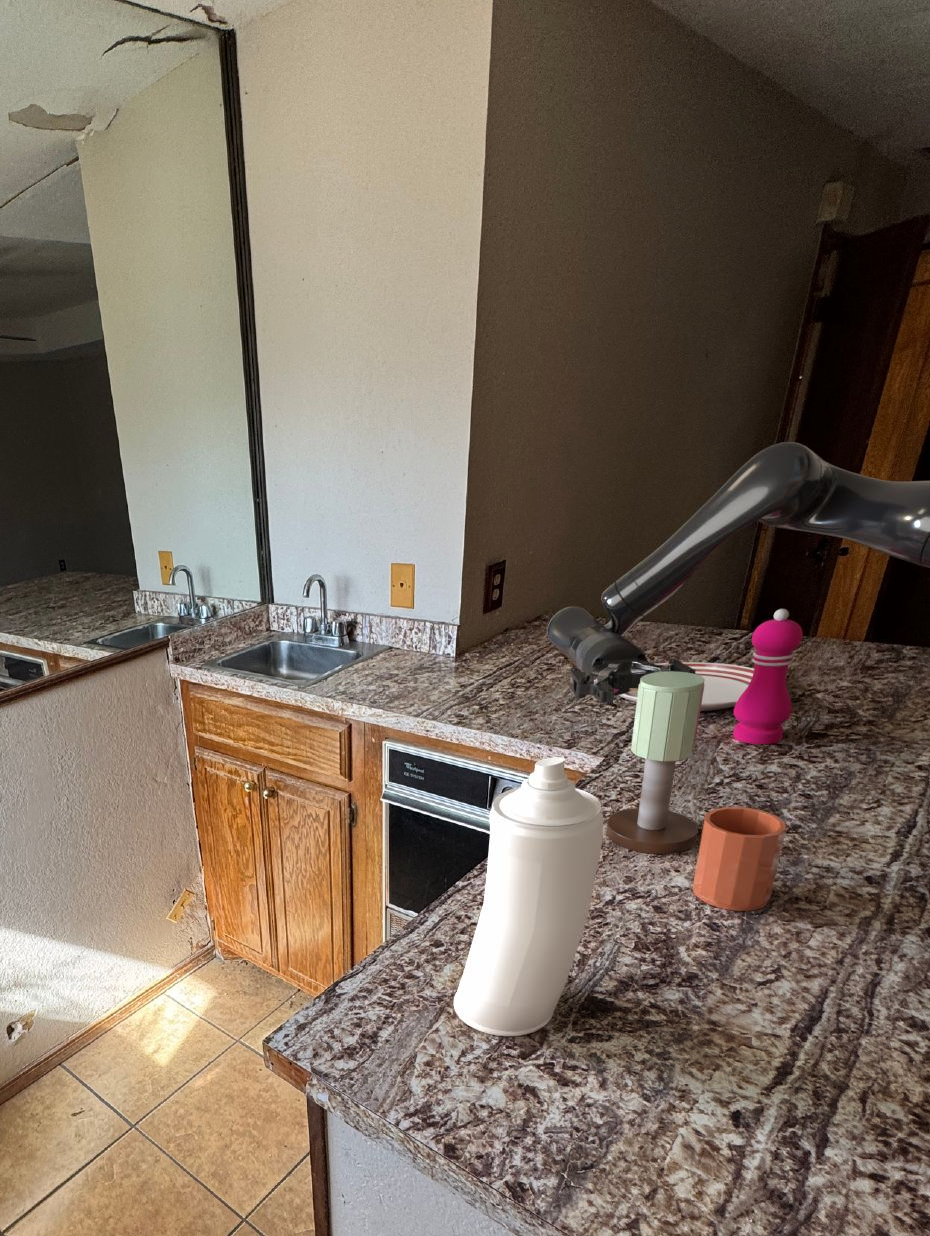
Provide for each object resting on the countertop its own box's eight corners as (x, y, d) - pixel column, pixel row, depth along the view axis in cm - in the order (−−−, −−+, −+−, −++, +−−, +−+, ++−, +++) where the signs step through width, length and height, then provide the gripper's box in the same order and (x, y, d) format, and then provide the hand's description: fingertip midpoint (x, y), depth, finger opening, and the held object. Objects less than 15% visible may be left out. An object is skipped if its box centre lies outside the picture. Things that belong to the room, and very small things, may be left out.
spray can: (489, 952, 78) (497, 730, 67) (596, 986, 71) (625, 745, 60) (439, 1015, 71) (438, 777, 60) (553, 1060, 64) (577, 800, 53)
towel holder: (647, 811, 100) (666, 667, 91) (715, 839, 91) (744, 683, 83) (588, 830, 98) (603, 684, 89) (653, 862, 89) (676, 703, 80)
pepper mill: (773, 749, 112) (801, 616, 103) (720, 740, 117) (743, 612, 108) (793, 735, 115) (822, 605, 106) (741, 726, 120) (764, 602, 112)
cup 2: (723, 870, 85) (736, 801, 81) (785, 899, 79) (803, 825, 75) (676, 888, 84) (688, 817, 80) (737, 918, 77) (752, 843, 74)
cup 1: (659, 737, 93) (669, 668, 89) (705, 752, 88) (718, 678, 84) (619, 750, 91) (627, 679, 88) (664, 765, 86) (674, 691, 82)
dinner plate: (596, 677, 152) (597, 661, 150) (754, 672, 142) (758, 655, 141) (612, 723, 129) (614, 705, 128) (801, 720, 119) (806, 701, 118)
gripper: (558, 641, 107) (589, 671, 93) (666, 631, 104) (715, 660, 90) (555, 691, 111) (584, 727, 96) (659, 682, 108) (705, 719, 93)
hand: (647, 695), depth 93 cm, fingers open, 8 cm apart
